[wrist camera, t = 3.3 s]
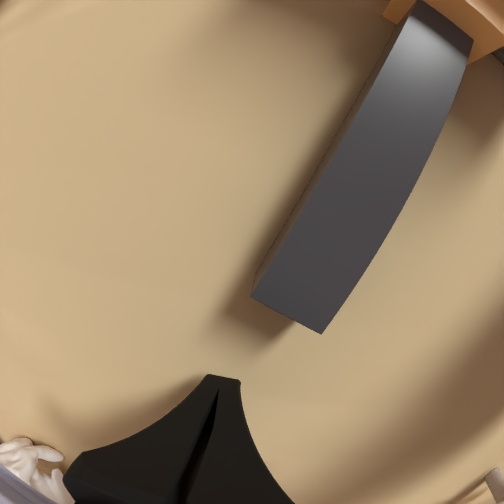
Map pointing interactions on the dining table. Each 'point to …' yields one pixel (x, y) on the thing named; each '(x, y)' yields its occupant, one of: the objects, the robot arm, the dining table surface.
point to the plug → (375, 157)
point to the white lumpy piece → (35, 468)
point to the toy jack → (496, 484)
